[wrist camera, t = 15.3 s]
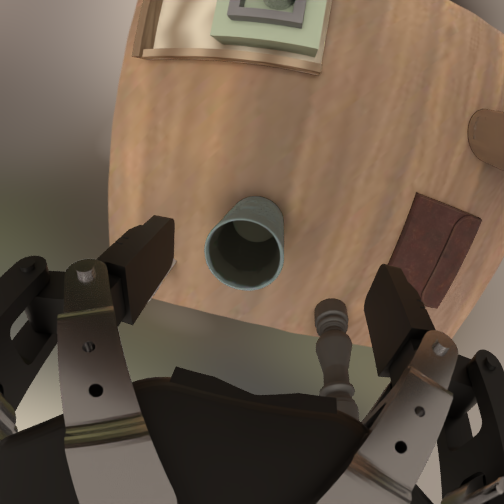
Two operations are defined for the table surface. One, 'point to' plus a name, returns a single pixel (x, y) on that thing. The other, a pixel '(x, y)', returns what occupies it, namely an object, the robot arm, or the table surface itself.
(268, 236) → the teal cup
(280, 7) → the handle
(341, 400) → the candle holder
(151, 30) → the bay
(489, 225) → the table surface
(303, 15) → the green stepped block
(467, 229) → the notebook
